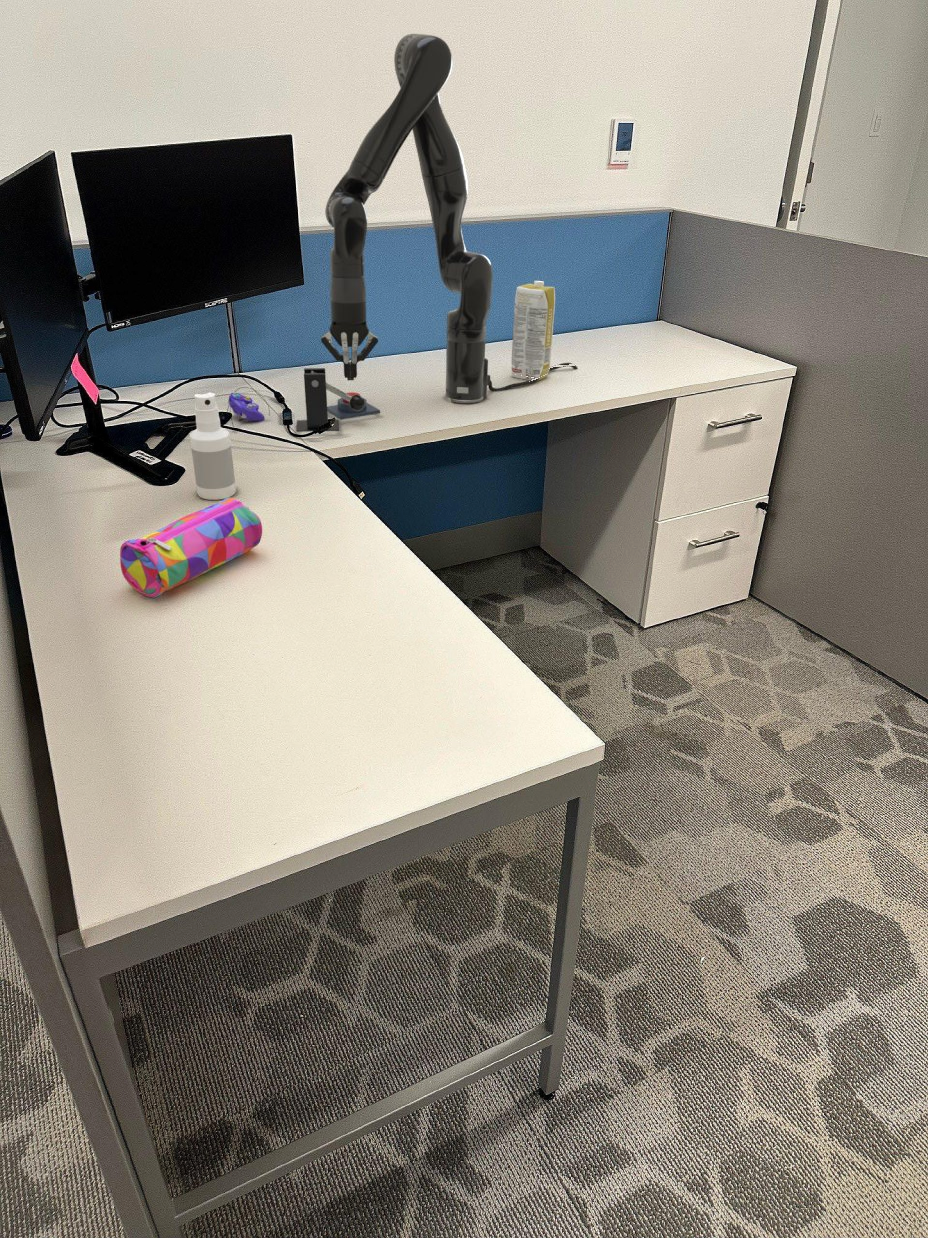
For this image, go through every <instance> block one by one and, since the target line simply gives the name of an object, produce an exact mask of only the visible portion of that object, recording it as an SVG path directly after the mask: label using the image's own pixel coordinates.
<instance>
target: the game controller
mask: <svg viewBox="0 0 928 1238" xmlns="http://www.w3.org/2000/svg"><path fill="white" fill-rule="evenodd" d="M240 389H250V390H252V388H250V387H248V386H242V387H239V388H237V389H236V390H235V391H233V392H230V394H229V396H228V399H227V404H228V406H227V410H226V415H228V413H230V415H232V412H233V413H234V414H235V415H238V416H240V417H241V418H240V419H239V420H238V422H240V421H241V420H245V421H248V420H251V421H253V422H262V421H265V419H266V418H265V415H264V414H263V413H262V412H261V411H259V409H260V405H259V404H257V403H255V402H253V401H254V400H253V398H251V397H250V396H246V395H243V394H241V393H239V392H237V391H239V390H240ZM253 391H254V392H256V393H258V391H257V390H255V389H253ZM259 395H260V396H261V397H262V398H263V399H264V401H265V402H267V400H266V399H265V397H264V396H263V395H262V394H260V393H259ZM267 406H268V408H270V406H269V405H267ZM229 409H232V412H231V410H229ZM228 411H229V412H228ZM270 413H271V411H270V409H268V415H270ZM221 419H222V420H225V416H224V415H222V416H221ZM230 419H231V424H232V427H233V428H235V427H234V422H233V418H232V417H230Z"/></svg>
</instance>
